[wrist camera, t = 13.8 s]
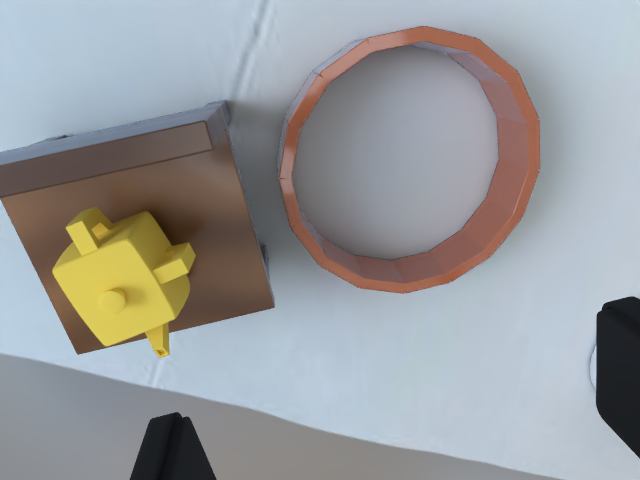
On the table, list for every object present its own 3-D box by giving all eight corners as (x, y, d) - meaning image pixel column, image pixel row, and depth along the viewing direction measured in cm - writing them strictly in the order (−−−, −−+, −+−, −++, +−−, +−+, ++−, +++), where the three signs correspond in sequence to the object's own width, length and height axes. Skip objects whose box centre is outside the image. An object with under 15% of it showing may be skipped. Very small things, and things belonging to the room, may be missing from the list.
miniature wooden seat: (272, 260, 34) (278, 370, 22) (112, 298, 33) (29, 431, 21) (228, 95, 29) (205, 119, 17) (42, 136, 29) (-114, 190, 17)
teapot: (230, 294, 27) (224, 345, 22) (140, 331, 27) (114, 390, 22) (164, 170, 24) (139, 198, 19) (62, 213, 24) (13, 251, 19)
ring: (554, 125, 33) (591, 133, 29) (415, 302, 37) (432, 329, 33) (370, -26, 28) (387, -39, 24) (233, 198, 32) (230, 216, 28)
